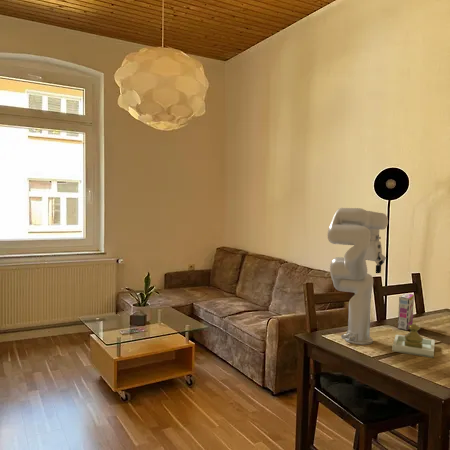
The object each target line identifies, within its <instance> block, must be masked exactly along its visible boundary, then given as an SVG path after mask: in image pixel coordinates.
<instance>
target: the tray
mask: <svg viewBox="0 0 450 450" xmlns="http://www.w3.org/2000/svg"><path fill="white" fill-rule="evenodd" d="M422 338H423V341H422V343H423V347H422V349H421V348H415V347H408V346H405V345H404V341H405V340H406V339H405V335H404V334H403V335H402V334H395V335H394V340H393V341H392V347H391V350H392V352H394V353H400V354H405V355H406V354H407V355H413V356H418V357H424V358H425V357H426V358H431V359H434V357H435V355H434V354H435V341H436V340H435V339H429V338H425V337H422Z"/></svg>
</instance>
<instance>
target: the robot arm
mask: <svg viewBox="0 0 450 450" xmlns="http://www.w3.org/2000/svg"><path fill="white" fill-rule="evenodd" d="M388 219H389V218H388V216H387V214H385V213H383V212H379V211H378V212H376V211H372V210H367V209H363V208H359V207H357V208H356V207H340V208H338V209H337V210H335V212H334V215H333V216H332V218H331V221H330V223H329V227H328V229H327V239H328V242H329V243H331V244H332V245H343V246H344V245H346V246H351V247H350V248H349V249H348V250H346V251H345V254H344V255H343V257H341V256H339V257H333V258H332V259H331V261H330V263H329V264H330V265H329V274H330V277H331V280H332V283H333V287H334V289H336V290H337V291H340V292H346V293H354V295H352V297H351V298H350V299H349V302H348V321H347V330H346V333H343V334H341V336H340V337H341V339H342V340H345V342H347V343H350V344H354V345H371V344H373V342H374V339H373V337H371V336H370V333H371V305H372V303H371V302H372V293H373V288H374V277H373V276H372V275H371V273H368V267H367V266H368V264H367V261H371V262H375V264H376V265H375V274H381V273H382V266H383V264H384V263H385V261H386V260H387V257H386V256H385V255H384V254H383V248H382V242H381V241H380V240H381V236H380V230H382V231H383V230H386V229H387V227H388V224H389V220H388Z"/></svg>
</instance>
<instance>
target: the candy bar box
mask: <svg viewBox="0 0 450 450" xmlns="http://www.w3.org/2000/svg"><path fill="white" fill-rule="evenodd" d="M398 300H399V301H398V317H397V318H398V320H397V329H398V330H403V331H408V330H410V329H409V328H408V325H412V324H414V322H413V320H414V319H413V317H414V302H415V294H411V293H403V294H402V295H400V296H399V299H398Z"/></svg>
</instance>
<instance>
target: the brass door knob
mask: <svg viewBox="0 0 450 450" xmlns="http://www.w3.org/2000/svg"><path fill="white" fill-rule="evenodd" d="M408 328H409V329H408V330H410V332H408V333H407V334H405V335H404V336H405V339H406V340H405V341H404V345H405V346H408V347H415V348H421V349H422V347H423V343H422V341H423V338H424V337H422V336H421V335H420V334H419V332H418V331H419V330H421V326H419V325H417V323H412V325H408Z"/></svg>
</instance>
